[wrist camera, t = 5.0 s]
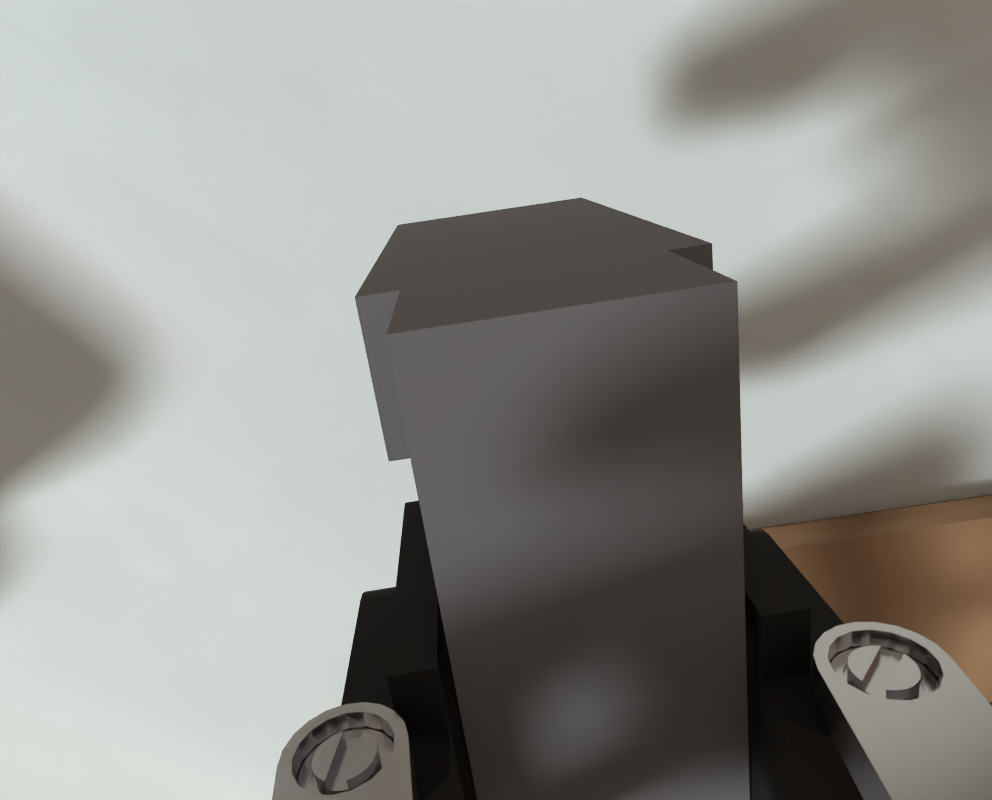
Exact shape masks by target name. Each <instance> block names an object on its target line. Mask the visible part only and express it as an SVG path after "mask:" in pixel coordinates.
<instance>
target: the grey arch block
mask: <svg viewBox="0 0 992 800" xmlns="http://www.w3.org/2000/svg"><path fill="white" fill-rule="evenodd" d="M355 300H356V305H357V310H358V314H359V319H360V324H361V329H362V334H363V339H364V343H365V348H366V353H367V358H368V363H369V368H370V372H371V377H372V382H373V387H374V392H375V397H376V401H377V406H378V411H379V416H380V421H381V426H382V430H383V435H384V440H385V445H386V450H387V455H388V459H389V461H394V460H401V459H407V458H411V463H412V468H413V473H414V478H415V483H416V488H417V494H418V499H419V504H420V509H421V514H422V519H423V524H424V529H425V535H426V540H427V545H428V550H429V555H430V560H431V565H432V570H433V575H434V581H435V586H436V591H437V596H438V601H439V606H440V611H441V616H442V622H443V627H444V632H445V637H446V642H447V647H448V652H449V657H450V663H451V668H452V673H453V678H454V683H455V688H456V693H457V698H458V703H459V709H460V714H461V719H462V724H463V729H464V734H465V739H466V744H467V750H468V755H469V760H470V765H471V770H472V775H473V780H474V785H475V791H476V796H477V800H750V790H749V749H748V708H747V667H746V625H745V584H744V543H743V502H742V461H741V420H740V379H739V338H738V296H737V281H735V280H733V279H731V278H729V277H726V276H724V275H722V274H720V273H717V272H715V271H713V261H712V243H709V242H706V241H703V240H700V239H698V238H695V237H692V236H689V235H686V234H683V233H680V232H678V231H675V230H672V229H669V228H666V227H663V226H660V225H658V224H655V223H652V222H649V221H646V220H643V219H641V218H638V217H635V216H632V215H629V214H626V213H623V212H621V211H618V210H615V209H612V208H609V207H606V206H603V205H601V204H598V203H595V202H592V201H589V200H586V199H583V198H577V199H570V200H563V201H556V202H550V203H543V204H536V205H529V206H523V207H516V208H509V209H503V210H496V211H489V212H482V213H476V214H469V215H462V216H455V217H449V218H442V219H435V220H429V221H422V222H415V223H408V224H402V225H398V226H397V228H396V229H395V231H394V233H393V234H392V236H391V238H390V239H389V241H388V243H387V244H386V246H385V248H384V249H383V251H382V253H381V254H380V256H379V258H378V259H377V261H376V263H375V264H374V266H373V268H372V269H371V271H370V273H369V274H368V276H367V278H366V280H365V281H364V283H363V285H362V286H361V288H360V290H359V291H358V293H357V295H356V296H355Z"/></svg>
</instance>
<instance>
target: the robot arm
mask: <svg viewBox="0 0 992 800" xmlns="http://www.w3.org/2000/svg"><path fill="white" fill-rule="evenodd" d="M743 543H744V584H745V625H746V667H747V708H748V749H749V790H750V800H992V703H991V702H988V701H987V700H986V698H985V697H984V696H983V695H982V694H981V693H980V691H979V690H978V689H977V688H976V687H975V685H974V684H973V683H972V682H971V681H970V679H969V678H968V677H967V676H966V675H965V673H964V672H963V671H962V670H961V669H960V667H959V666H958V665H957V664H956V663H955V661H954V660H953V659H952V658H951V657H950V656H949V655H948V654H947V653H946V652H945V651H944V650H943V649H941V648H940V647H939V646H938V645H937V644H936V643H934V642H932V641H931V640H929V639H927V638H925V637H924V636H922V635H920V634H918V633H916V632H913V631H910V630H907V629H904V628H902V627H899V626H895V625H890V624H884V623H878V622H852V623H847V624H844V623H843V622H842V621H841V619H840V618H839V617H838V616H837V615H836V613H835V612H834V611H833V610H832V609H831V607H830V606H829V605H828V604H827V603H826V602H825V600H824V599H823V598H822V597H821V596H820V594H819V593H818V592H817V591H816V590H815V589H814V587H813V586H812V585H811V584H810V583H809V581H808V580H807V579H806V578H805V577H804V575H803V574H802V573H801V572H800V571H799V570H798V568H797V567H796V566H795V565H794V564H793V562H792V561H791V560H790V559H789V558H788V557H787V555H786V554H785V553H784V552H783V551H782V549H781V548H780V547H779V546H778V545H777V544H776V542H775V541H774V540H773V539H772V538H771V536H770V535H769V534H768V533H766V532H765V531H764V530H760V529H758V530H752V531H749V530H748V529H747V527H746V526H745V525H744V524H743ZM272 800H477V796H476V791H475V785H474V780H473V775H472V770H471V765H470V760H469V755H468V750H467V744H466V739H465V734H464V729H463V724H462V719H461V714H460V709H459V703H458V698H457V693H456V688H455V683H454V678H453V673H452V668H451V663H450V657H449V652H448V647H447V642H446V637H445V632H444V627H443V622H442V616H441V611H440V606H439V601H438V596H437V591H436V586H435V581H434V575H433V570H432V565H431V560H430V555H429V550H428V545H427V540H426V535H425V529H424V524H423V519H422V514H421V509H420V504H419V501H414V502H408V503H405V509H404V518H403V527H402V536H401V546H400V555H399V564H398V574H397V583H396V587H392V588H386V589H380V590H373V591H367V592H364V593H363V594H362V597H361V601H360V607H359V612H358V617H357V623H356V628H355V634H354V639H353V645H352V650H351V656H350V661H349V667H348V672H347V678H346V683H345V688H344V694H343V699H342V705H341V706H339V707H336V708H333V709H330V710H327V711H325V712H323V713H322V714H320V715H318V716H317V717H315V718H313V719H311V720H310V721H308V722H307V723H306V724H305V725H304V726H303V727H302V728H300V729H299V730H298V731H297V732H296V733H295V734H294V735H293V736H292V738H291V739H290V740H289V742H288V743H287V745H286V746H285V748H284V749H283V751H282V754H281V757H280V760H279V763H278V766H277V771H276V778H275V785H274V791H273V798H272Z"/></svg>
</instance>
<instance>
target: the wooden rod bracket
mask: <svg viewBox="0 0 992 800" xmlns="http://www.w3.org/2000/svg"><path fill="white" fill-rule="evenodd" d="M755 530H758V529H755ZM760 530H764V531H765V532H766V533H768V534H769V535H770V536H771V538H772V539H773V540H774V541H775V542H776V544H777V545H778V546H779V547H780V548H781V549H782V551H783V552H784V553H785V554H786V555H787V557H788V558H789V559H790V560H791V561H792V562H793V564H794V565H795V566H796V567H797V568H798V570H799V571H800V572H801V573H802V574H803V575H804V577H805V578H806V579H807V580H808V581H809V583H810V584H811V585H812V586H813V587H814V589H815V590H816V591H817V592H818V593H819V594H820V596H821V597H822V598H823V599H824V600H825V602H826V603H827V604H828V605H829V606H830V607H831V609H832V610H833V611H834V612H835V613H836V615H837V616H838V617H839V618H840V619H841V621H842V622H843V623H844V624H847V623H852V622H878V623H884V624H890V625H895V626H899V627H902V628H904V629H907V630H910V631H913V632H916V633H918V634H920V635H922V636H924V637H925V638H927V639H929V640H931V641H932V642H934V643H936V644H937V645H938V646H939V647H940V648H941V649H943V650H944V651H945V652H946V653H947V654H948V655H949V656H950V657H951V658H952V659H953V660H954V661H955V663H956V664H957V665H958V666H959V667H960V669H961V670H962V671H963V672H964V673H965V675H966V676H967V677H968V678H969V679H970V681H971V682H972V683H973V684H974V685H975V687H976V688H977V689H978V690H979V691H980V693H981V694H982V695H983V696H984V697H985V698H986V700H987V701H988V702H991V703H992V495H989V496H982V497H975V498H968V499H961V500H954V501H947V502H941V503H934V504H927V505H920V506H913V507H906V508H899V509H893V510H886V511H879V512H872V513H865V514H858V515H851V516H845V517H838V518H831V519H824V520H817V521H810V522H803V523H797V524H790V525H783V526H776V527H769V528H762V529H760ZM749 531H752V530H749Z"/></svg>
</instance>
